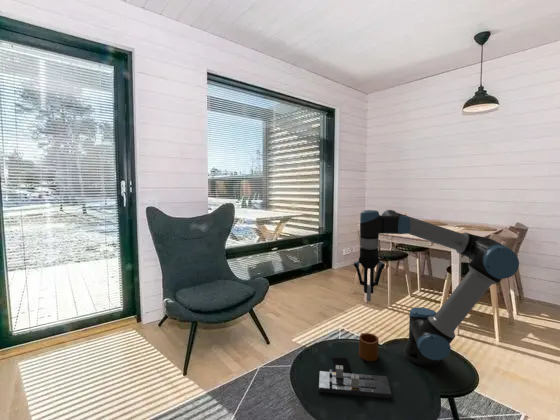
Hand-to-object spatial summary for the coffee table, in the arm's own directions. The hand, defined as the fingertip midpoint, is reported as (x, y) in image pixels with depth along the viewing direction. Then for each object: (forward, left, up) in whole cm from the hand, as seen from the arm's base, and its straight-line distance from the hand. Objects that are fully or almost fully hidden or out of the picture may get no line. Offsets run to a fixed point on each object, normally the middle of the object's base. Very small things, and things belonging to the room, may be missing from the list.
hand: (368, 300), depth 132 cm
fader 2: (+7, +14, -30) cm, 34 cm away
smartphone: (+11, +1, -33) cm, 35 cm away
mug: (-1, -11, -33) cm, 35 cm away
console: (+7, +12, -32) cm, 35 cm away
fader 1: (+13, +9, -30) cm, 34 cm away
